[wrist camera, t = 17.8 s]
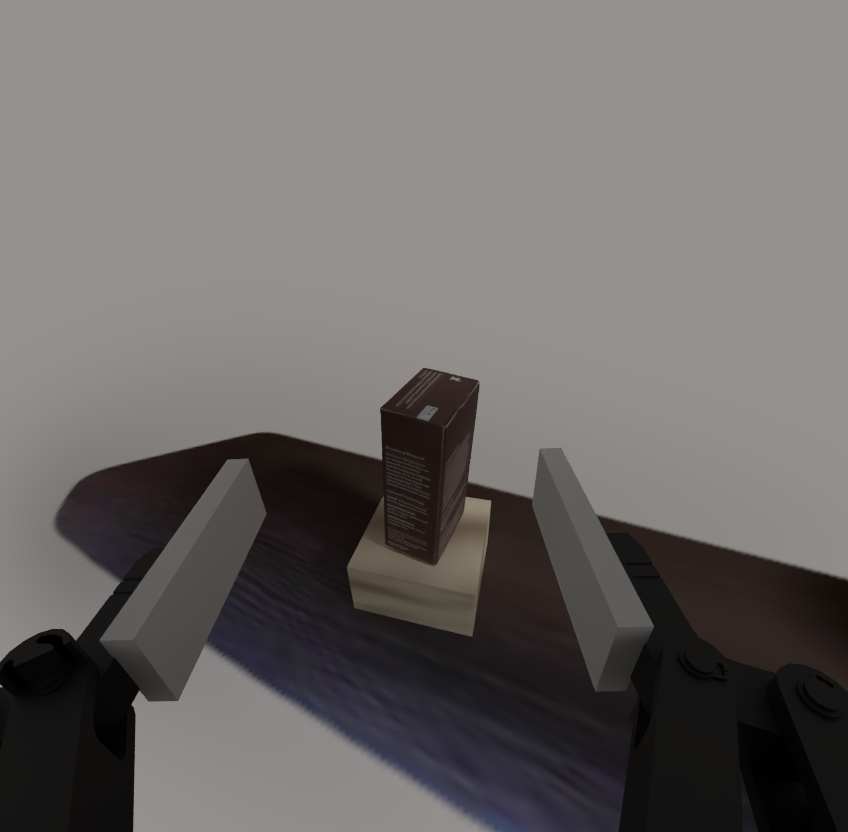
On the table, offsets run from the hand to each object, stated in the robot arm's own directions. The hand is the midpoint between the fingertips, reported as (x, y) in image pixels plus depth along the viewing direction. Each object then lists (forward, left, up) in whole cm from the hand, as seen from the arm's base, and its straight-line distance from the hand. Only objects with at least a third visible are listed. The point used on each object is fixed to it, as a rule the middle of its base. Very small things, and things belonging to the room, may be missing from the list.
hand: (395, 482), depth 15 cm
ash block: (+10, -1, -18) cm, 21 cm away
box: (+10, -1, -13) cm, 17 cm away
